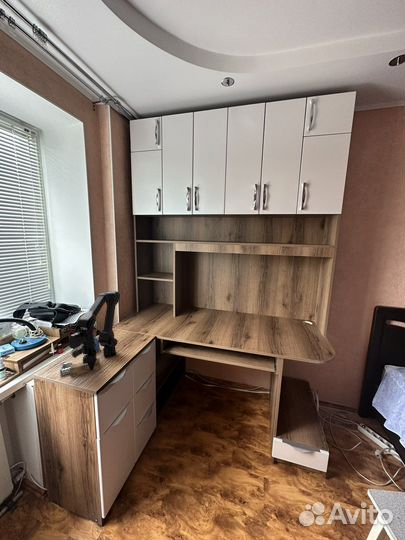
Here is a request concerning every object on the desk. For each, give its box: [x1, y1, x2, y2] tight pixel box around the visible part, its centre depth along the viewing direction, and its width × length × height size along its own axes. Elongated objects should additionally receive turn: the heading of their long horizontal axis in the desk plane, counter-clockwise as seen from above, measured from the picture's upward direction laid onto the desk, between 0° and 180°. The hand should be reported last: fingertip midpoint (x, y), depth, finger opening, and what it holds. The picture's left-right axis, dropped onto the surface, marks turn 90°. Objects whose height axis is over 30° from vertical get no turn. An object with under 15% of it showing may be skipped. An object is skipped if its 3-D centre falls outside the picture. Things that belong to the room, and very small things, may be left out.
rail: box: [70, 357, 101, 377], centre depth 122 cm, size 14×4×4 cm, turn 114°
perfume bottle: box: [94, 336, 101, 352], centre depth 144 cm, size 6×6×12 cm
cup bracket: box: [59, 361, 74, 376], centre depth 122 cm, size 5×8×3 cm, turn 25°
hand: (91, 367), depth 123 cm, fingers open, 7 cm apart
